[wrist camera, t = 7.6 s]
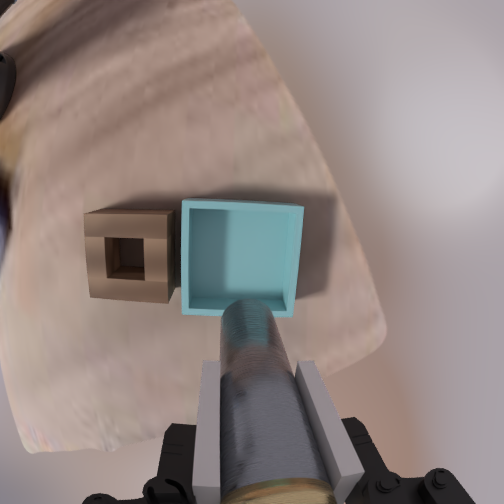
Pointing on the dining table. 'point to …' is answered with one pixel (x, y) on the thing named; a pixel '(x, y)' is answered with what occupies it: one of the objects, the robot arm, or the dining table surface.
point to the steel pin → (264, 417)
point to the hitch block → (108, 254)
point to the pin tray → (239, 254)
